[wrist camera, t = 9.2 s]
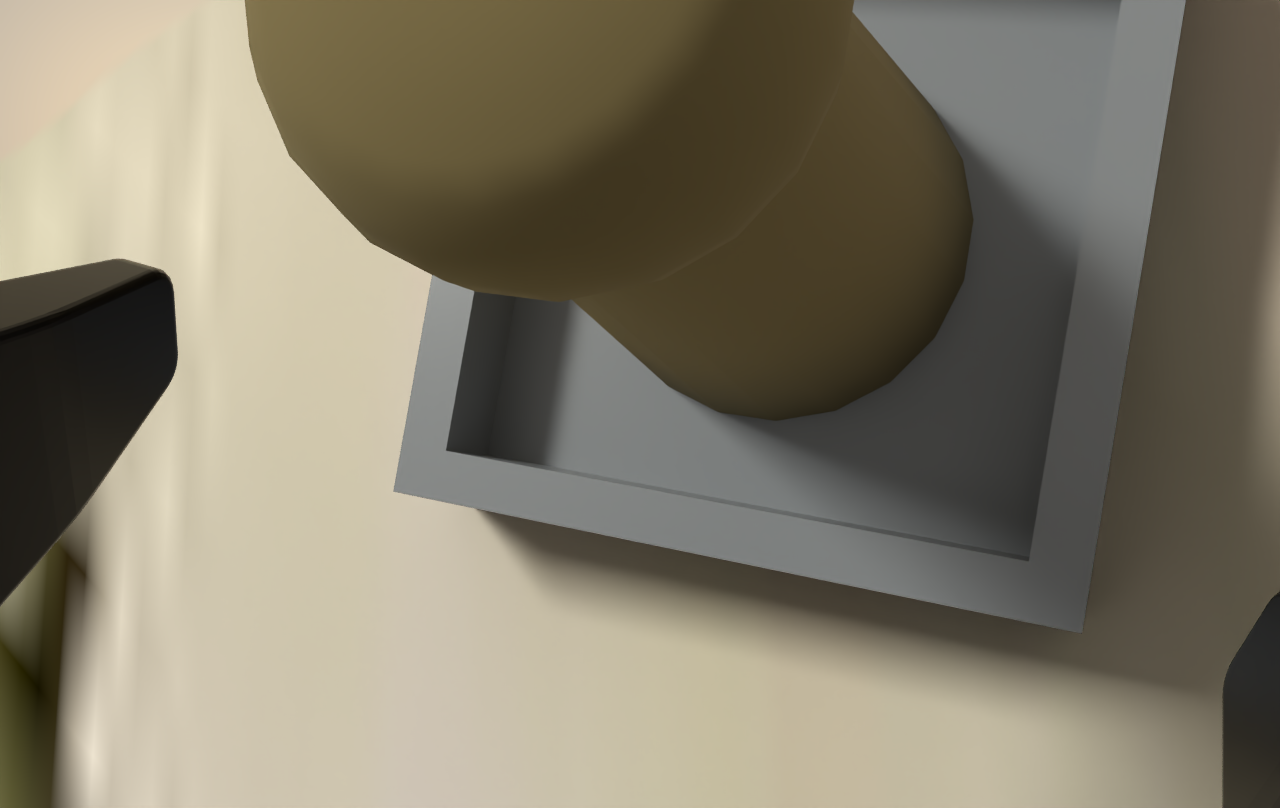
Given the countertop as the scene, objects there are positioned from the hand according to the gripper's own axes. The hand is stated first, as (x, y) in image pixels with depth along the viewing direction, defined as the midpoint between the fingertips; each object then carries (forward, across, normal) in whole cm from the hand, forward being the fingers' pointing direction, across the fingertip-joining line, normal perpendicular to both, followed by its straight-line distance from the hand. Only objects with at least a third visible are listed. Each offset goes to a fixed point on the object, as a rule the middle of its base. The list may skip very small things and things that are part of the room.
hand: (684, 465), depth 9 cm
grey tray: (+11, 0, +3) cm, 11 cm away
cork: (+10, 0, +2) cm, 10 cm away
